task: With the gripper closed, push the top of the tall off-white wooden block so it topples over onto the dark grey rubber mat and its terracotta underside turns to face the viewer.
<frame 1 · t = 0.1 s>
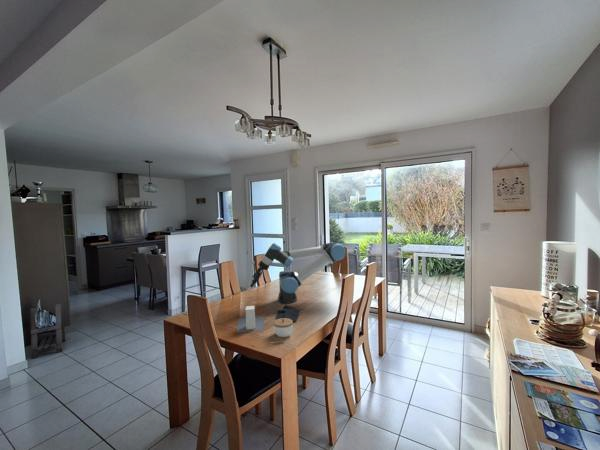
hand: (248, 288, 192), 15 cm above the table, tool tilted 35°, fingers open, 13 cm apart
lidded jar: (283, 335, 148), on the table
block: (250, 327, 158), point 1 cm above the table, touching mat
dark slate chunk: (287, 317, 177), on the table
mat: (251, 324, 164), on the table
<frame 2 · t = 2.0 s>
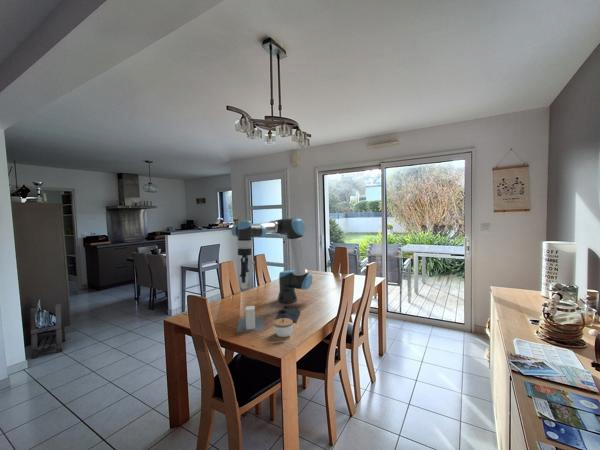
hand: (244, 285, 151), 27 cm above the table, tool pointing down, fingers open, 13 cm apart
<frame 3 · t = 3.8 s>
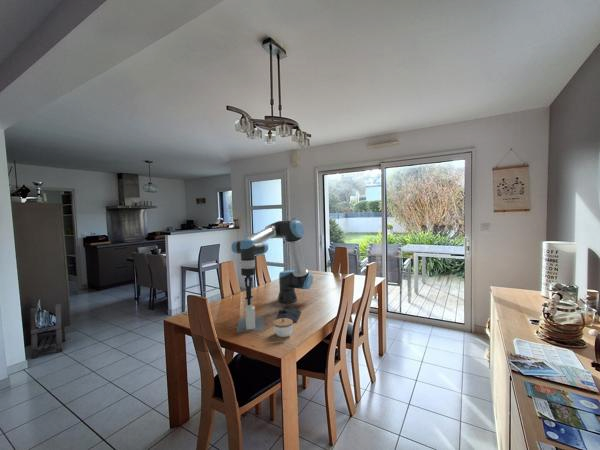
hand: (249, 310, 148), 15 cm above the table, tool pointing down, fingers closed
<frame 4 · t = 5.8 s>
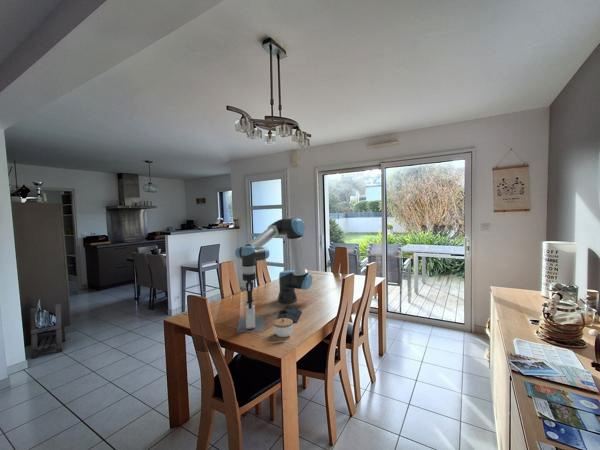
hand: (250, 313, 155), 10 cm above the table, tool pointing down, fingers closed
block: (250, 327, 158), point 1 cm above the table, tilted 8°, touching gripper, mat
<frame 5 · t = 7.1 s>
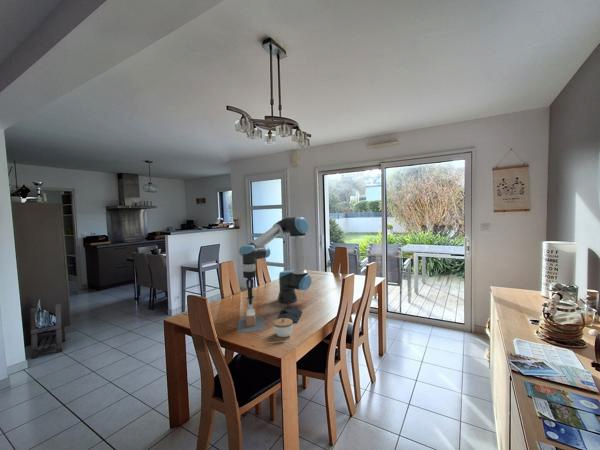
hand: (250, 308, 164), 10 cm above the table, tool pointing down, fingers closed
block: (250, 320, 161), point 4 cm above the table, tilted 90°, touching mat
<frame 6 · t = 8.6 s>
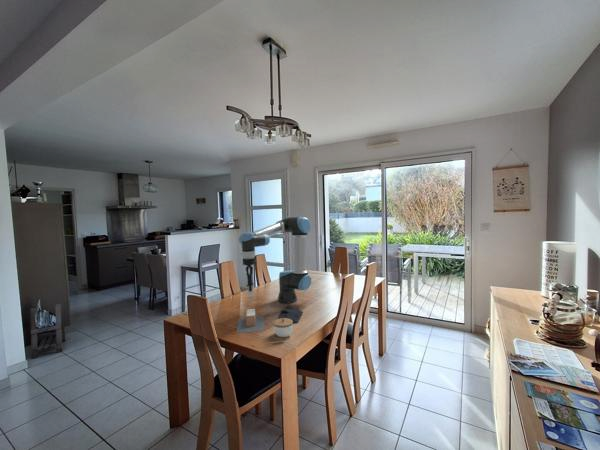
hand: (250, 295, 165), 17 cm above the table, tool pointing down, fingers closed
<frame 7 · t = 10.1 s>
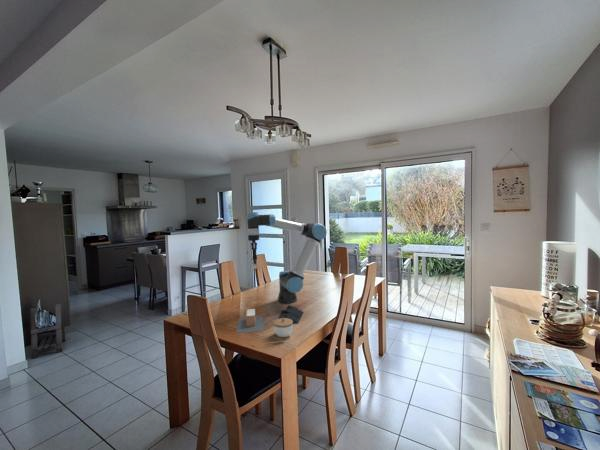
hand: (255, 268, 187), 30 cm above the table, tool pointing down, fingers closed
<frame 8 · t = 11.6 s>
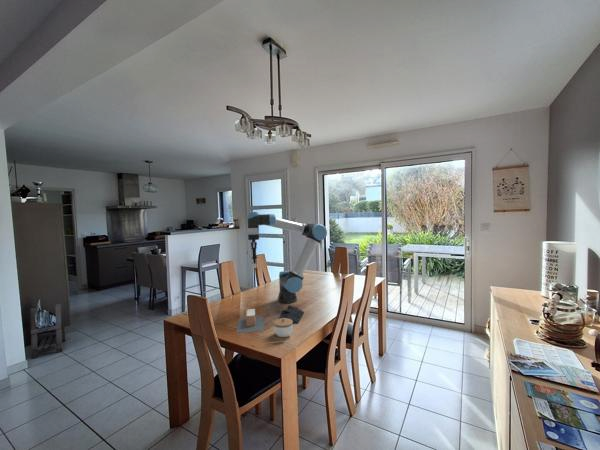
hand: (254, 267, 187), 30 cm above the table, tool pointing down, fingers closed
at the end: block tilted 90°; block inside the target area (1.0 cm from its centre), point 3.6 cm above the table; block touching mat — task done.
